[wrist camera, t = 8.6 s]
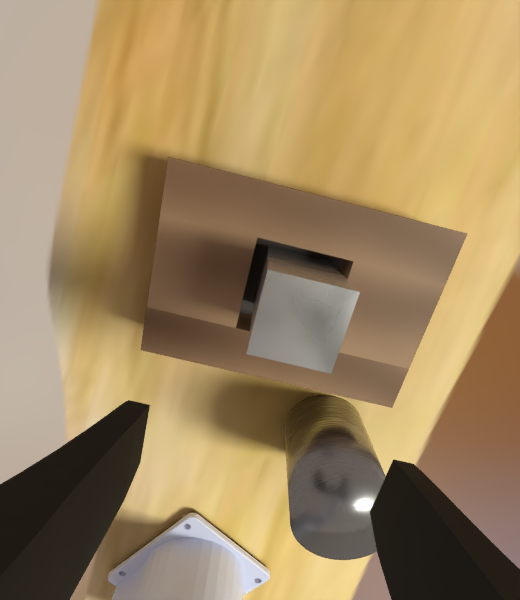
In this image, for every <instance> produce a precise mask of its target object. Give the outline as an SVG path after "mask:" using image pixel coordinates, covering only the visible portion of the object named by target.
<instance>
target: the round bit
mask: <svg viewBox="0 0 520 600" xmlns="http://www.w3.org/2000/svg"><path fill="white" fill-rule="evenodd" d="M284 432H285V448H286V463H287V479H288V495H289V510H290V525H291V529H292V532H293V535H294V536H295V538H296V540H297V541H298V542H299V543H300V544H301V545H302V546H303V547H304V548H305V549H307V550H308V551H310V552H312V553H314V554H316V555H318V556H321V557H325V558H328V559H335V560H350V559H357V558H362V557H365V556H368V555H370V554H373V553H375V552H376V551H377V548H376V543H375V538H374V533H373V527H372V522H371V516H370V510H371V508H372V506H373V504H374V502H375V499H376V497H377V495H378V493H379V491H380V488H381V486H382V484H383V482H384V480H385V474H384V472H383V470H382V467H381V465H380V462H379V460H378V458H377V455H376V453H375V451H374V448H373V446H372V443H371V441H370V439H369V436H368V434H367V431H366V429H365V427H364V424H363V422H362V420H361V417H360V415H359V413H358V411H357V410H356V409H355V407H354V406H353V405H351V404H350V403H349V402H347V401H346V400H344V399H341V398H339V397H335V396H330V395H319V396H314V397H310V398H307V399H305V400H303V401H301V402H300V403H298V404H297V405H296V406H295V407H294V408H293V409H292V410H291V411H290V412H289V414H288V416H287V418H286V421H285V426H284Z"/></svg>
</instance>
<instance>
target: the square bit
mask: <svg viewBox="0 0 520 600" xmlns="http://www.w3.org/2000/svg"><path fill="white" fill-rule="evenodd" d="M359 294H360V292H359V291H358V290H357V289H356V288H355V287H354V286H353V285H352V284H351V283H350V282H349V281H348V279H347V278H346V277H345V276H344V275H343V274H342V273H341V272H340V271H339V270H338V269H337V268H336V267H335V266H334V265H333V264H332V263H331V262H330V261H329V260H325V259H321V258H317V257H313V256H309V255H305V254H301V253H297V252H293V251H289V250H285V249H281V248H277V247H273V246H269V245H268V249H267V253H266V257H265V261H264V265H263V269H262V273H261V277H260V281H259V285H258V289H257V293H256V297H255V301H254V306H253V312H252V319H251V325H250V332H249V339H248V345H247V352H246V354H248V355H253V356H257V357H261V358H266V359H270V360H274V361H279V362H283V363H287V364H291V365H296V366H300V367H304V368H309V369H313V370H317V371H322V372H326V373H330V374H331V373H332V370H333V367H334V365H335V362H336V359H337V356H338V353H339V350H340V348H341V345H342V342H343V339H344V336H345V333H346V331H347V328H348V325H349V322H350V319H351V316H352V314H353V311H354V308H355V305H356V302H357V299H358V297H359Z"/></svg>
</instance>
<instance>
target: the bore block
mask: <svg viewBox="0 0 520 600" xmlns="http://www.w3.org/2000/svg"><path fill="white" fill-rule="evenodd" d="M466 236H467V233H463V232H459V231H455V230H451V229H447V228H443V227H439V226H435V225H432V224H428V223H424V222H420V221H416V220H412V219H408V218H404V217H401V216H397V215H393V214H389V213H385V212H381V211H377V210H373V209H369V208H366V207H362V206H358V205H354V204H350V203H346V202H342V201H338V200H334V199H331V198H327V197H323V196H319V195H315V194H311V193H307V192H303V191H300V190H296V189H292V188H288V187H284V186H280V185H276V184H272V183H268V182H265V181H261V180H257V179H253V178H249V177H245V176H241V175H237V174H233V173H230V172H226V171H222V170H218V169H214V168H210V167H206V166H202V165H199V164H195V163H191V162H187V161H183V160H179V159H175V158H171V157H168V162H167V169H166V176H165V183H164V190H163V197H162V204H161V211H160V218H159V225H158V232H157V239H156V246H155V253H154V260H153V267H152V274H151V281H150V288H149V295H148V302H147V309H146V316H145V323H144V330H143V337H142V344H141V350H143V351H147V352H152V353H156V354H160V355H165V356H169V357H173V358H178V359H182V360H187V361H191V362H195V363H200V364H204V365H208V366H213V367H217V368H221V369H226V370H230V371H234V372H239V373H243V374H248V375H252V376H256V377H261V378H265V379H269V380H274V381H278V382H282V383H287V384H291V385H295V386H300V387H304V388H309V389H313V390H317V391H322V392H326V393H330V394H335V395H339V396H343V397H348V398H352V399H356V400H361V401H365V402H370V403H374V404H378V405H383V406H387V407H391V408H392V407H393V404H394V402H395V400H396V397H397V395H398V393H399V391H400V388H401V386H402V384H403V381H404V379H405V377H406V374H407V372H408V370H409V367H410V365H411V363H412V361H413V358H414V356H415V354H416V351H417V349H418V347H419V344H420V342H421V340H422V337H423V335H424V333H425V331H426V328H427V326H428V324H429V321H430V319H431V317H432V314H433V312H434V310H435V307H436V305H437V303H438V301H439V298H440V296H441V294H442V291H443V289H444V287H445V284H446V282H447V280H448V277H449V275H450V273H451V271H452V268H453V266H454V264H455V261H456V259H457V257H458V254H459V252H460V250H461V247H462V245H463V243H464V241H465V238H466ZM268 245H269V246H273V247H277V248H281V249H285V250H289V251H293V252H297V253H301V254H305V255H309V256H313V257H317V258H321V259H325V260H329V261H330V262H331V263H332V264H333V265H334V266H335V267H336V268H337V269H338V270H339V271H340V272H341V273H342V274H343V275H344V276H345V277H346V278H347V279H348V281H349V282H350V283H351V284H352V285H353V286H354V287H355V288H356V289H357V290H358V291H359V292H360V294H359V297H358V299H357V302H356V305H355V308H354V311H353V314H352V316H351V319H350V322H349V325H348V328H347V331H346V333H345V336H344V339H343V342H342V345H341V348H340V350H339V353H338V356H337V359H336V362H335V365H334V367H333V370H332V373H331V374H330V373H326V372H322V371H317V370H313V369H309V368H304V367H300V366H296V365H291V364H287V363H283V362H279V361H274V360H270V359H266V358H261V357H257V356H253V355H248V354H246V352H247V345H248V339H249V332H250V325H251V319H252V312H253V306H254V301H255V297H256V293H257V289H258V285H259V281H260V277H261V273H262V269H263V265H264V261H265V257H266V253H267V249H268Z"/></svg>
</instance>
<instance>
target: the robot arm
mask: <svg viewBox="0 0 520 600" xmlns="http://www.w3.org/2000/svg"><path fill="white" fill-rule="evenodd" d="M149 406H150V405H147V404H143V403H138V402H134V401H129V400H128V401H126V402H125V403H123V404H122V405H120V406H119V407H118V408H116V409H115V410H113V411H112V412H111V413H109V414H108V415H107V416H105V417H104V418H102V419H101V420H100V421H98V422H97V423H95V424H94V425H93V426H91V427H90V428H88V429H87V430H86V431H84V432H83V433H81V434H80V435H78V436H77V437H75V438H74V439H72V440H71V441H69V442H68V443H66V444H65V445H63V446H62V447H61V448H59V449H57V450H56V451H54V452H53V453H51V454H50V455H48V456H46V457H45V458H43V459H42V460H40V461H39V462H37V463H35V464H34V465H32V466H30V467H29V468H27V469H25V470H24V471H23V472H21V473H19V474H17V475H16V476H14V477H12V478H10V479H9V480H7V481H5V482H3V483H2V484H0V600H70V598H71V596H72V594H73V592H74V590H75V589H76V587H77V585H78V583H79V581H80V580H81V578H82V576H83V574H84V572H85V571H86V569H87V567H88V565H89V563H90V561H91V560H92V558H93V556H94V554H95V552H96V551H97V549H98V547H99V545H100V543H101V541H102V540H103V538H104V536H105V534H106V532H107V531H108V529H109V527H110V525H111V523H112V521H113V520H114V518H115V516H116V514H117V512H118V510H119V509H120V507H121V505H122V503H123V501H124V499H125V497H126V494H127V492H128V490H129V488H130V485H131V483H132V481H133V478H134V476H135V473H136V471H137V469H138V466H139V464H140V460H141V454H142V448H143V442H144V436H145V430H146V424H147V418H148V412H149ZM370 516H371V522H372V527H373V533H374V538H375V543H376V548H377V552H378V556H379V559H380V563H381V566H382V570H383V573H384V576H385V580H386V583H387V586H388V589H389V593H390V596H391V599H392V600H520V569H519V568H518V567H517V566H515V564H514V563H512V562H511V561H510V560H509V559H508V558H507V557H506V556H505V555H504V554H503V553H502V552H501V551H500V550H499V549H498V548H497V547H496V546H495V545H494V544H493V543H492V542H491V541H490V540H489V539H488V538H487V537H486V536H485V535H484V534H483V533H482V532H481V531H480V530H479V529H478V528H477V527H476V526H475V525H474V524H473V523H472V522H471V521H470V520H469V519H468V518H467V517H466V516H465V515H464V514H463V513H462V512H461V511H460V510H459V509H458V508H457V507H456V506H455V505H454V503H452V502H451V500H450V499H449V498H448V497H447V496H446V495H445V494H444V493H443V492H442V491H441V490H440V489H439V488H438V487H437V486H436V485H435V484H434V483H433V482H432V481H431V480H430V479H429V478H428V477H427V476H426V475H425V474H424V473H423V472H422V471H421V470H419V469H418V468H417V467H416V466H415V465H414V464H411V463H406V462H402V461H397V460H393V462H392V464H391V466H390V469H389V471H388V473H387V475H386V477H385V480H384V482H383V484H382V486H381V488H380V491H379V493H378V495H377V497H376V499H375V502H374V504H373V506H372V508H371V510H370ZM269 578H270V571H269V570H268V569H267V568H266V567H265V566H263V565H262V564H261V563H260V562H258V561H257V560H256V559H255V558H253V557H252V556H251V555H249V554H248V553H247V552H246V551H244V550H243V549H242V548H241V547H239V546H238V545H237V544H235V543H234V542H233V541H232V540H230V539H229V538H228V537H226V536H225V535H224V534H223V533H221V532H220V531H219V530H218V529H216V528H215V527H214V526H212V525H211V524H210V523H209V522H207V521H206V520H205V519H204V518H202V517H201V516H200V515H198V514H197V513H189V514H187V515H186V516H185V517H183V518H182V519H181V520H179V521H178V522H177V523H175V524H174V525H173V526H171V527H170V528H168V529H167V530H166V531H164V532H163V533H162V534H160V535H159V536H158V537H156V538H155V539H154V540H152V541H151V542H150V543H148V544H147V545H145V546H144V547H143V548H141V549H140V550H139V551H137V552H136V553H135V554H133V555H132V556H131V557H129V558H128V559H126V560H125V561H124V562H122V563H121V564H120V565H118V566H117V567H116V568H114V569H113V570H112V571H110V573H109V575H108V578H107V579H108V581H109V582H110V583H111V584H113V585H114V586H116V589H115V591H114V594H113V596H112V599H111V600H243V596H244V595H245V594H247V593H249V592H250V591H252V590H253V589H255V588H257V587H258V586H260V585H261V584H263V583H265V582H266V581H268V580H269Z"/></svg>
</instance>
